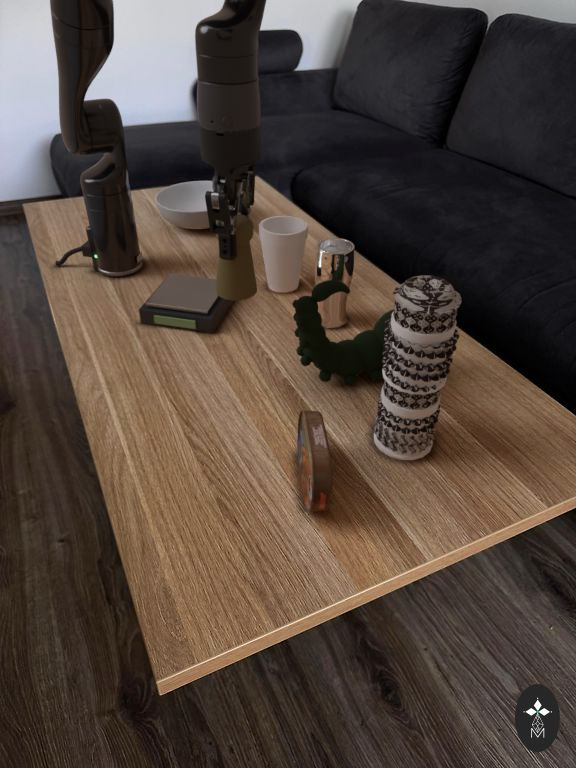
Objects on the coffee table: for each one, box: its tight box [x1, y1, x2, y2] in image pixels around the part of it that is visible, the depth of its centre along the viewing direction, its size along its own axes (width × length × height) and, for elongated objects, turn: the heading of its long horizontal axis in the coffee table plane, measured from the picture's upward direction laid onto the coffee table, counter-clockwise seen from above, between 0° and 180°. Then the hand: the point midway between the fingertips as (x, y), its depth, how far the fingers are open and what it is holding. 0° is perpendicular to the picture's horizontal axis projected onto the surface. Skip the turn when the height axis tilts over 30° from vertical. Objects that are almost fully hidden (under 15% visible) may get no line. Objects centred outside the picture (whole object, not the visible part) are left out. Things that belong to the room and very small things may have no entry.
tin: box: [296, 409, 334, 513], centre depth 76 cm, size 15×3×8 cm, turn 5°
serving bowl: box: [154, 180, 231, 230], centre depth 146 cm, size 21×21×7 cm
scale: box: [138, 274, 234, 334], centre depth 113 cm, size 14×14×3 cm
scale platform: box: [145, 272, 220, 315], centre depth 112 cm, size 12×12×1 cm
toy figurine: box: [291, 280, 394, 386], centre depth 93 cm, size 9×19×25 cm
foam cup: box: [258, 215, 309, 294], centre depth 118 cm, size 10×9×13 cm
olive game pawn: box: [215, 214, 258, 302], centre depth 82 cm, size 6×6×11 cm
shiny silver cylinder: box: [313, 237, 355, 329], centre depth 107 cm, size 7×7×15 cm
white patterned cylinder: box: [373, 274, 463, 461], centre depth 78 cm, size 9×9×25 cm
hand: (234, 248), depth 81 cm, fingers closed on olive game pawn, 5 cm apart
